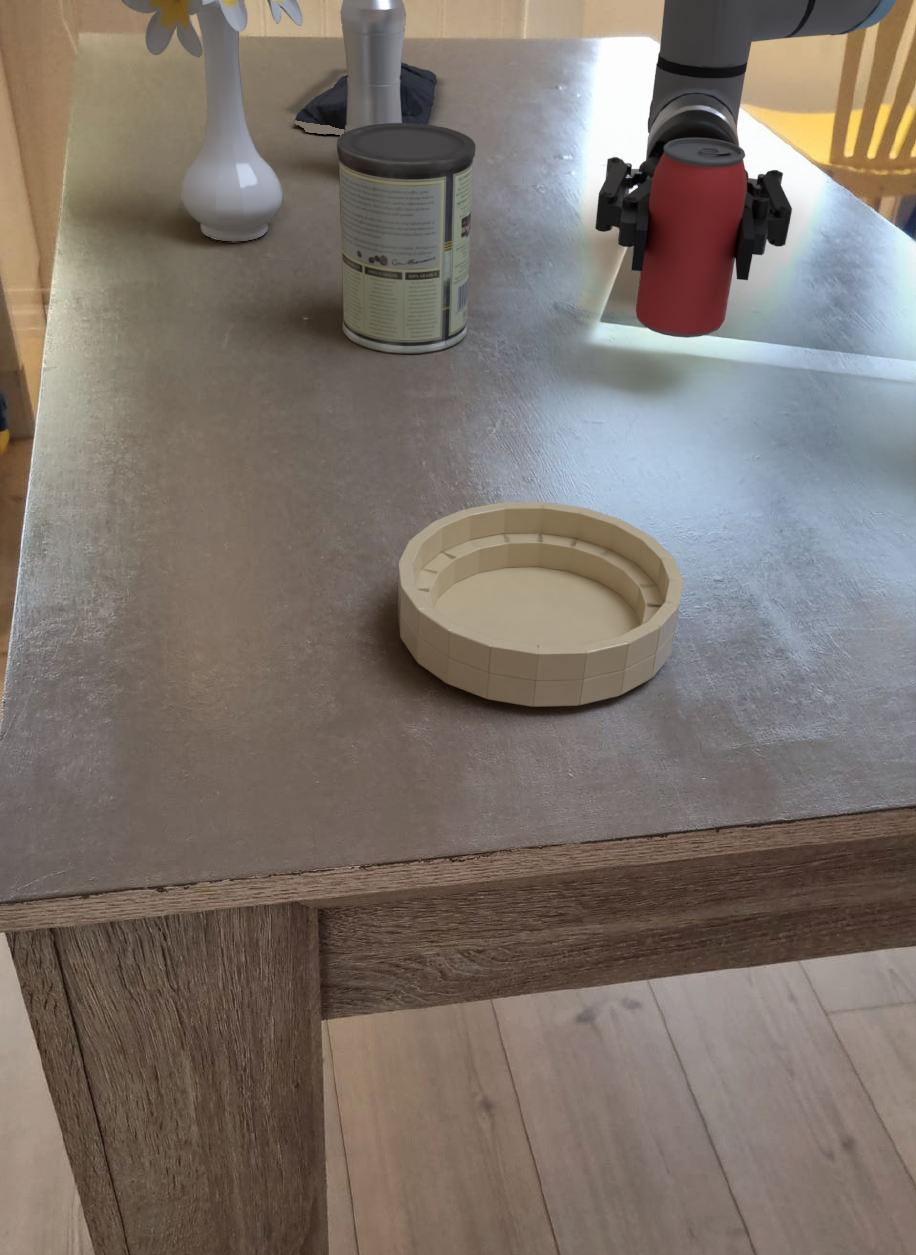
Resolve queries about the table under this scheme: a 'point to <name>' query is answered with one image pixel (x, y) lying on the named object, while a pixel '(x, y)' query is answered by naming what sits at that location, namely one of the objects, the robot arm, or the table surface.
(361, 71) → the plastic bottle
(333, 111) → the dark blue folded cloth
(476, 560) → the bowl
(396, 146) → the coffee can
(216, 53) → the flower vase
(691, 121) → the robot arm
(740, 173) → the beer can
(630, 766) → the table surface
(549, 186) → the table surface
